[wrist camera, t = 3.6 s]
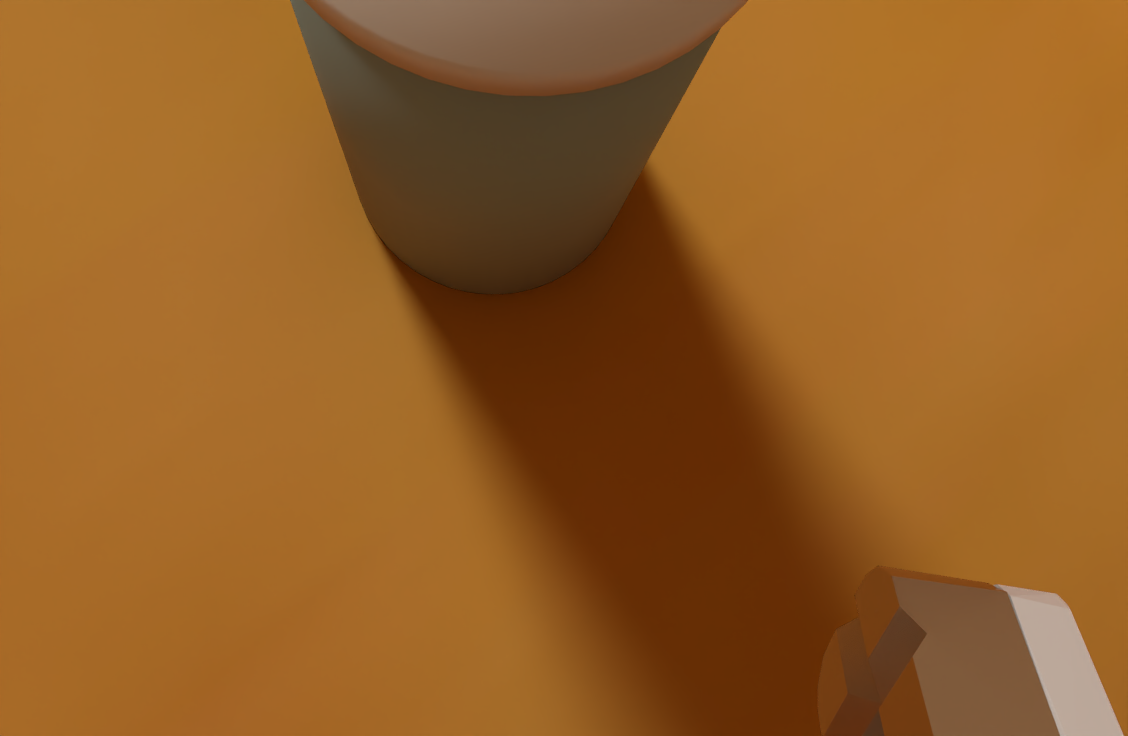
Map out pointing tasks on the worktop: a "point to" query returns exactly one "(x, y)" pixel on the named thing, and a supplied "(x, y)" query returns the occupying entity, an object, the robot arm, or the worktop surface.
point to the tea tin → (501, 121)
